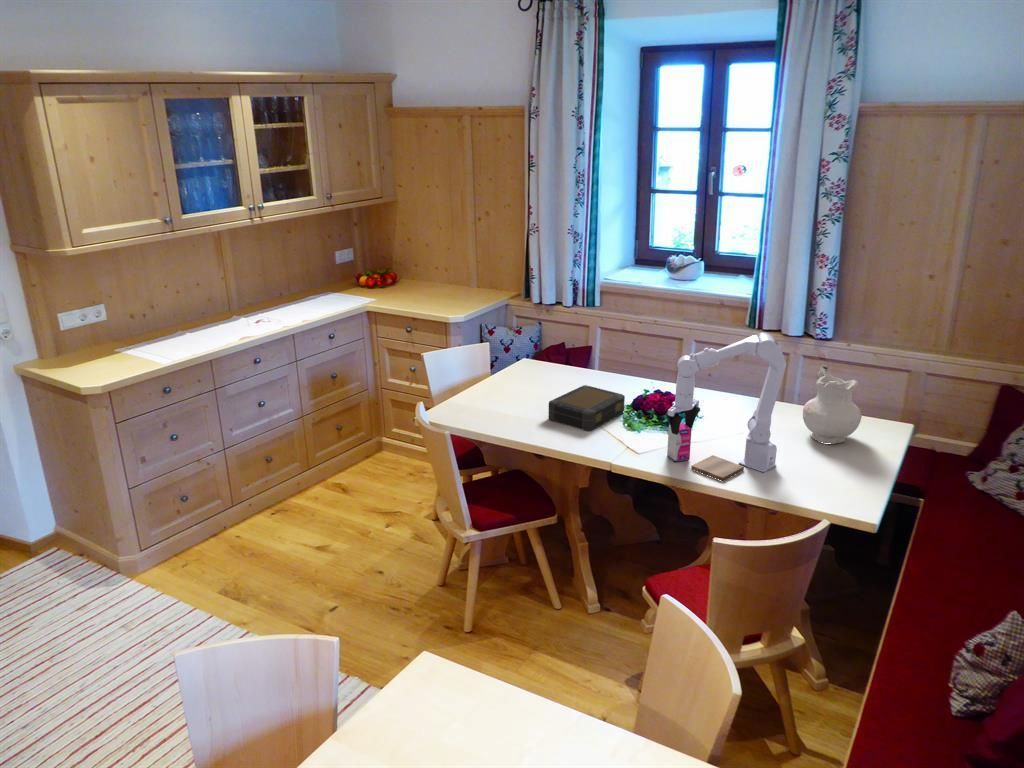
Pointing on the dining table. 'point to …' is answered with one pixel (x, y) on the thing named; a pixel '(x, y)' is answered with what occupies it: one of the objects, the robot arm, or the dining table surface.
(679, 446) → the supplement box
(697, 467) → the cardboard square
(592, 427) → the cash box
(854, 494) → the dining table surface
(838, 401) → the ceramic pitcher
